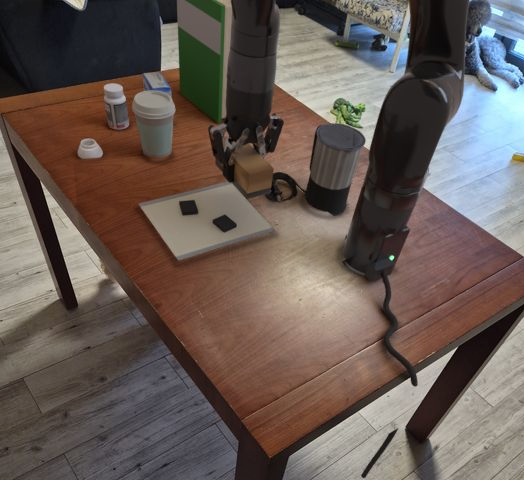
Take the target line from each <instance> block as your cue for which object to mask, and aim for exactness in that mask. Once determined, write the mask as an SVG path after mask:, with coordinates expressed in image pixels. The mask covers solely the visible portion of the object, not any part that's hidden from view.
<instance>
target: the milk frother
mask: <svg viewBox="0 0 524 480" xmlns="http://www.w3.org/2000/svg"><path fill="white" fill-rule="evenodd" d="M313 136H314V137H313V142H312V149H311V154H310V155H311V156H310V160H309V161H310V162H309V171H310V172H309V177H308V181H307V185H306V189H304V188H302V187H301V185H300V184H299V183H298V182H297V180H295V179H294V178H293V177H292V176H291V175H289V174H288V173H287V172H282V171H277V172H276V171H275V172H273V178H272V185H271V192H270V194H266V195H265V197H266V198H267V199H268V200H269V201H271V202H275V203H283V202H286V201H290V200H292V199H296V197H297V196H298V189H299V190H300V191H301V192H302V193H303V194H304V200H305V202H306V203H307V204H308V205H309V206H310V207H312V208H313V209H315V210H318V211H321V212H325V213H328V214H329V215H332V217H336V216H340V215H341V214H344V212H345V211H346V209H347V202H348V198H349V195H350V190H351V187H352V183H353V180H354V177H355V174H356V170H357V167H358V164H359V160H360V157H361V155H362V150H363V147H364V146H365V145H366V141H367V140H366V139H367V138H366V137H365V135H364V134H363V132H361V130H358V129H357V128H355V127H353V126H351V125H348V124H344V123H341V122H339V123H338V122H337V123H334V122H330V123H325V124H320V125H318V126H317V127H316V129H315V132H314V135H313ZM279 180H280V181H284V182H286V183H287V184H288V185H289V186H290V190H291V193H290V195H289V196H288V197H286V198H281V197H282V195H283V193H284V192H283V191H282V190H281V189H280V186H279V185H278V184H277V181H279Z"/></svg>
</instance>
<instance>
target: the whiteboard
mask: <svg viewBox="0 0 524 480" xmlns="http://www.w3.org/2000/svg"><path fill="white" fill-rule="evenodd" d="M187 200H195V203H196V206H197V209H198V214H195V215H184V216H183V215H182V212H181V209H180V205H179V201H187ZM138 206H139V207H140V209H141V210H142V211H143V213H144V215H145V216H146V217H147V219H148V220H149V221H150V223H151V224H152V225H153V227H154V229H155V230H156V231H157V233H158V234H159V236H160V237H161V239H162V240H163V241H164V243H165V244H166V246H167V247H168V249H169V250H170V251H171V253H172V255H174V257H175V258H176V261H178V262H180V261H182V260H185V259H189V258H192V257H195V256H199V255H202V254H206V253H208V252H211V251H214V250H218V249H221V248H224V247H227V246H230V245H231V246H232V245H235V244H237V243H240V242H243V241H247V240H250V239H253V238H257V237H260V236H263V235H267V234H270V233H273V232H276V230H275V229H274V227H272V226H271V224H269V223H268V221H267V220H266V219H265V218H264V217H263V216H262V215H261V214H260V213H259V212H258V210H257V209H256V208H255V207H254V206H253V205H252V204H251V203H250V202H249V200H248V199H246V198H245V197H244V196H243V195H242V194H241V192H240V191H239V190H238V189H237V188H236V187H235V186H234V185H233V184H232V183H229V182H228V181H223V182H220V183H216V184H211V185H208V186H204V187H199V188H196V189H191V190H187V191H184V192H180V193H175V194H171V195H167V196H164V197H159V198H156V199H151V200H148V201H143V202H139V203H138ZM222 215H227V216H228V217H229V218H230V219H231V220H233V221H234V222H235V223H236V224H237V227H236V228H234V229H231V230H229V231H227V232H225V233H224V232H223V231H221V230H220V229H219V228H218V227H217V226H216V225H214V224H213V219H215V218H218V217H220V216H222Z"/></svg>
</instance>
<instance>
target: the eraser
mask: <svg viewBox="0 0 524 480" xmlns="http://www.w3.org/2000/svg"><path fill="white" fill-rule="evenodd" d="M226 138H227V136H226V137H225V136H224V140H222V141H223V147H224V148H225V141H226ZM234 144H236V143H235V142H234ZM214 161H215V162H214V163H215V166H216V167H217V168H218V169H219V171H221V172H222V173H223V164H221V163H220V162H219V161H218V160H217V159H216V158H215V160H214ZM234 164H235V170H234V182H232V184H233V185H234V186H235V187H236V189H237V190H238V191H239V192H240V193H241V194H242V195H243V196H244V197H245V198H246V200H250V199H254V198H258V197H261V196H266V194H270V192H271V185H272V178H273V173H274V170H275V168H274V167H273V166H272V165H271V164H270V163H269V162H268V161H267V160H266V158H265V157H264V158H263V157H262V156H261V155H260V154H259V153H258V152H257V151H256V150H255V149H254V148H253V145H251V143H248V144H246V145H243V147H242V149H241V152H240V153H239V154H238V155H237V157H236V160H235V162H234Z"/></svg>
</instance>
